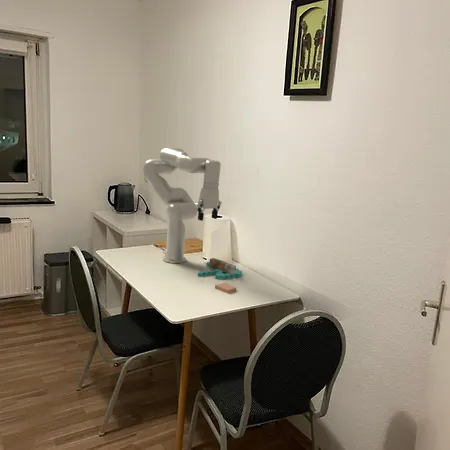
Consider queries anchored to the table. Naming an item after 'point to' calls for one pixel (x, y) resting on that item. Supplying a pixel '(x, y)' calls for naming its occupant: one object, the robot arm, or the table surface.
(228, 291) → the tile
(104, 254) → the table surface
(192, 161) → the robot arm
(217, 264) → the brown flat bar
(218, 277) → the alien figure
